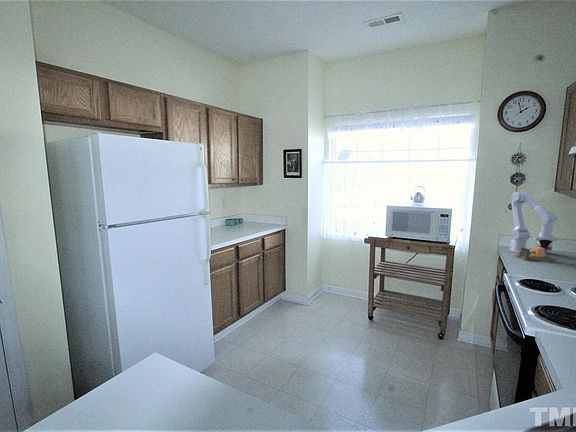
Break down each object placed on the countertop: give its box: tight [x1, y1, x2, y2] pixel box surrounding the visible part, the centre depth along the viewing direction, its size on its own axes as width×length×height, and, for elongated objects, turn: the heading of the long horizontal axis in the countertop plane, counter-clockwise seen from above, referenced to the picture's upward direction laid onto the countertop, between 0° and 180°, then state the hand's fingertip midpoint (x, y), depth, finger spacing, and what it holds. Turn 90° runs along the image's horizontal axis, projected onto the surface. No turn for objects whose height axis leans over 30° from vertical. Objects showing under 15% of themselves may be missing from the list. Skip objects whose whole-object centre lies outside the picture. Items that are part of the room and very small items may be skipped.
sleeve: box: [530, 246, 545, 257], centre depth 211 cm, size 6×4×6 cm
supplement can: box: [536, 232, 555, 253], centre depth 226 cm, size 8×8×15 cm
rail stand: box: [515, 247, 556, 262], centre depth 211 cm, size 10×19×7 cm, turn 88°
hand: (543, 250), depth 211 cm, fingers closed
